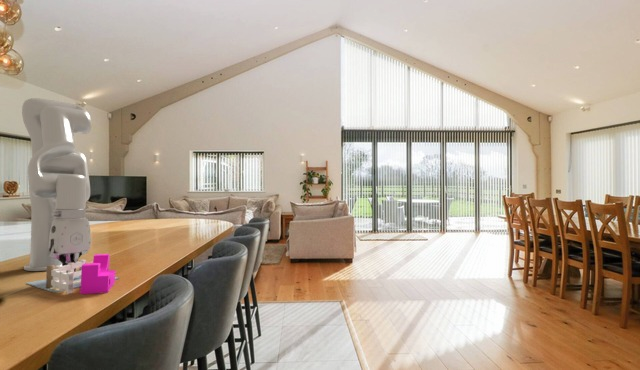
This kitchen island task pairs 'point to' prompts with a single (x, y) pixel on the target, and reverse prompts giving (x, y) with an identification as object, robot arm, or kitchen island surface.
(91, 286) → the toy block
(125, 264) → the kitchen island surface
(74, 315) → the kitchen island surface
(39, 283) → the mat
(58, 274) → the fixed panel and post
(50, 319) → the kitchen island surface
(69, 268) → the swing panel
